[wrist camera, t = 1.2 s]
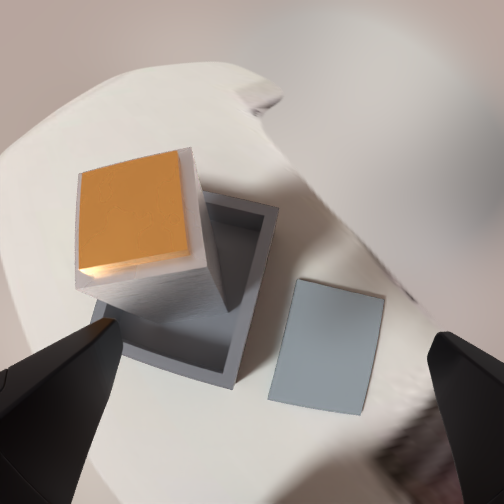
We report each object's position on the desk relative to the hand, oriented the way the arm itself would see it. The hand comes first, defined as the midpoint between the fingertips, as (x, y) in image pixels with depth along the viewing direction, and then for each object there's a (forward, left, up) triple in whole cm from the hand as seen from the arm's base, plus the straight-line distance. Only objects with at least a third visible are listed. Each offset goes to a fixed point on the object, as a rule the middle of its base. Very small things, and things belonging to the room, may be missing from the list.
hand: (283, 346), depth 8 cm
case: (+3, +6, -15) cm, 16 cm away
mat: (+1, -5, -15) cm, 16 cm away
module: (+3, +6, -14) cm, 16 cm away
